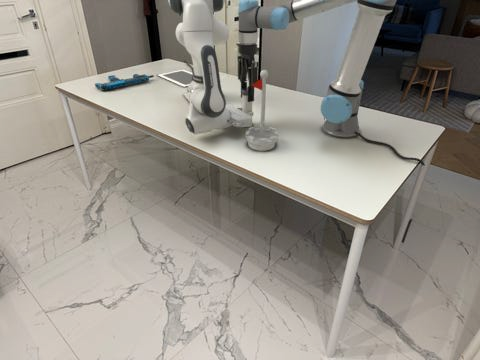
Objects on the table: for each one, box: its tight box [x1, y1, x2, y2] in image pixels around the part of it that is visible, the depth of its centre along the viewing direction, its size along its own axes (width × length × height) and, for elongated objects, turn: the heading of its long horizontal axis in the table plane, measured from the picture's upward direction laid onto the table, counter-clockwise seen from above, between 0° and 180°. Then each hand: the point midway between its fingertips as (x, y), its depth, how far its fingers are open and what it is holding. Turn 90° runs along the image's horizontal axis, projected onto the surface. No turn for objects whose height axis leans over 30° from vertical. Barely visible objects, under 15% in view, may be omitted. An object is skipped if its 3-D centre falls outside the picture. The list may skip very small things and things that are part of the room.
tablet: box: [156, 69, 193, 88], centre depth 216 cm, size 32×20×1 cm, turn 41°
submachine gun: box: [94, 73, 155, 91], centre depth 208 cm, size 34×4×25 cm
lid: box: [242, 86, 248, 96], centre depth 147 cm, size 5×5×2 cm
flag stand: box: [245, 69, 279, 152], centre depth 130 cm, size 13×13×30 cm
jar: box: [241, 95, 253, 128], centre depth 151 cm, size 4×4×16 cm
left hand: (248, 111), depth 152 cm, fingers closed on jar, 4 cm apart
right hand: (247, 99), depth 148 cm, fingers open, 5 cm apart
